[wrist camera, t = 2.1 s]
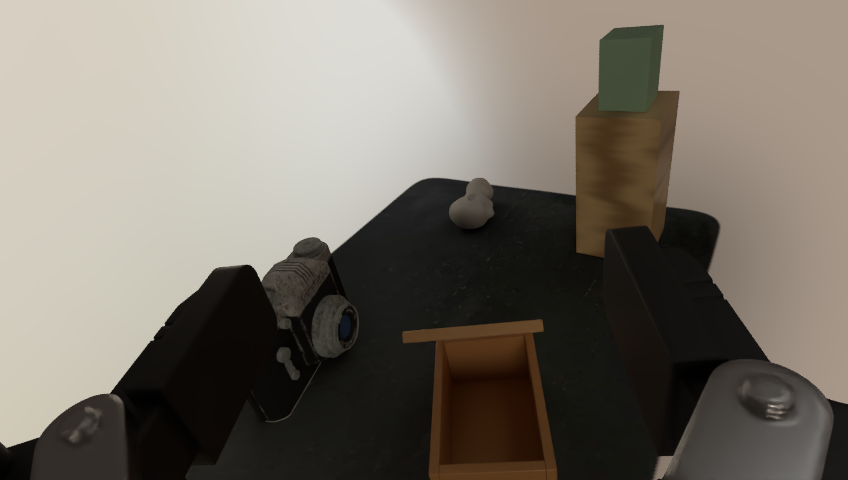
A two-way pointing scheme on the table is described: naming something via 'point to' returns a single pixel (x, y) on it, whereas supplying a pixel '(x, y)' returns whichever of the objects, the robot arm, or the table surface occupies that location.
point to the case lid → (473, 331)
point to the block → (629, 68)
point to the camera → (302, 327)
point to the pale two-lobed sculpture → (473, 205)
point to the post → (622, 169)
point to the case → (489, 411)
